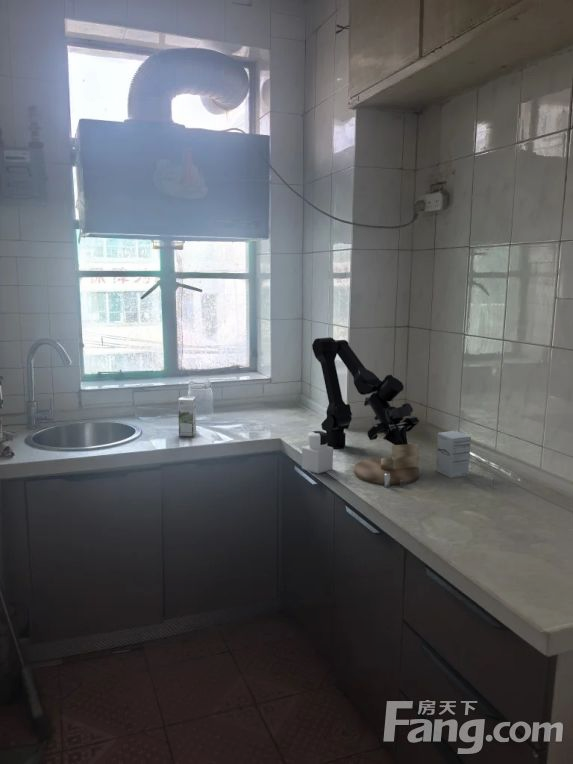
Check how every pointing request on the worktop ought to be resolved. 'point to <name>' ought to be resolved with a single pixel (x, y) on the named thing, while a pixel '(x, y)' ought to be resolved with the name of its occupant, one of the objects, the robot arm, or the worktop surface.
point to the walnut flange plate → (379, 475)
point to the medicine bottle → (317, 453)
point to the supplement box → (453, 453)
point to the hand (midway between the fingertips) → (406, 450)
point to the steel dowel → (387, 480)
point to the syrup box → (187, 416)
